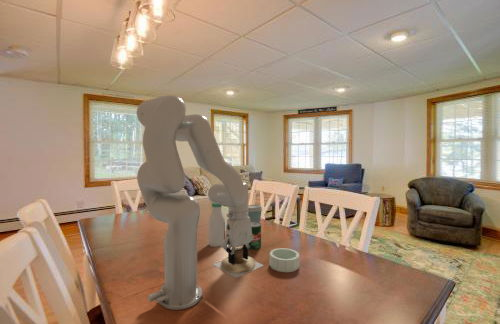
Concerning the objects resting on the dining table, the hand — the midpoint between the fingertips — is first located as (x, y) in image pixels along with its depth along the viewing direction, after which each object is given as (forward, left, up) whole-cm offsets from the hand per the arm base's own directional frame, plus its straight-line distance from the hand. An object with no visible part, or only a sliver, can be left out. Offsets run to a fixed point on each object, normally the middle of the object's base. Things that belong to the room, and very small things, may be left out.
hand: (238, 260), depth 97 cm
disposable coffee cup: (+31, +25, -3) cm, 40 cm away
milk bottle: (+7, +24, -3) cm, 25 cm away
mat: (0, 0, -2) cm, 2 cm away
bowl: (+13, -12, -2) cm, 18 cm away
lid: (0, 0, -2) cm, 2 cm away
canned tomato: (+17, +10, -3) cm, 20 cm away
